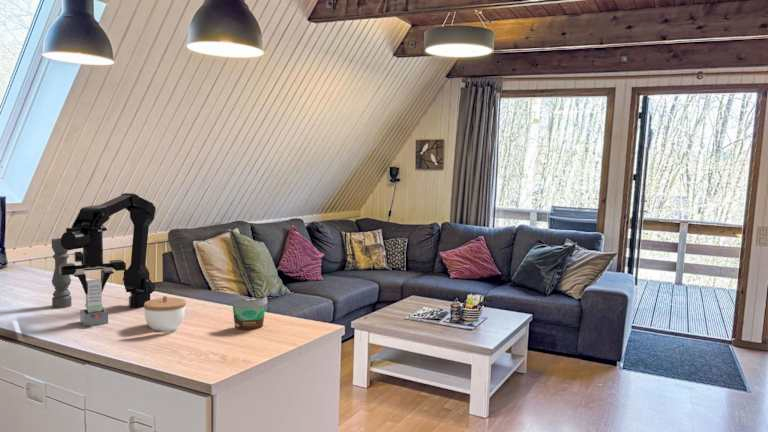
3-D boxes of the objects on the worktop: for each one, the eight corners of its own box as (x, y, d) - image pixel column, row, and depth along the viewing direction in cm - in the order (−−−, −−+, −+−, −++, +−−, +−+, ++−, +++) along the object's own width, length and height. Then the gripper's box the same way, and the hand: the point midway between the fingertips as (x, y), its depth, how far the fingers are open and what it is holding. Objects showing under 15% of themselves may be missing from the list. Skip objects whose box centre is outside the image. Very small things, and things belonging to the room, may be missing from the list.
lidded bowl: (144, 325, 183) (143, 293, 182) (184, 322, 188) (184, 290, 187) (144, 337, 171) (143, 302, 170) (186, 333, 176) (186, 299, 175)
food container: (234, 332, 178) (234, 302, 177) (230, 327, 184) (230, 298, 183) (271, 328, 184) (272, 299, 183) (266, 323, 189) (267, 295, 189)
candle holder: (48, 306, 202) (46, 239, 200) (63, 303, 208) (62, 237, 206) (60, 309, 200) (58, 240, 198) (75, 305, 206) (74, 238, 204)
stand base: (112, 317, 191) (112, 303, 191) (122, 327, 180) (122, 312, 179) (66, 323, 182) (66, 309, 182) (73, 334, 171) (73, 318, 171)
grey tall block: (99, 310, 184) (99, 279, 183) (102, 313, 180) (102, 281, 179) (85, 311, 181) (84, 280, 180) (87, 315, 178) (87, 282, 177)
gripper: (118, 241, 191) (119, 285, 192) (56, 244, 180) (57, 291, 181) (126, 245, 182) (126, 291, 183) (61, 249, 171) (62, 298, 172)
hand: (93, 293), depth 180 cm, fingers closed on grey tall block, 4 cm apart
